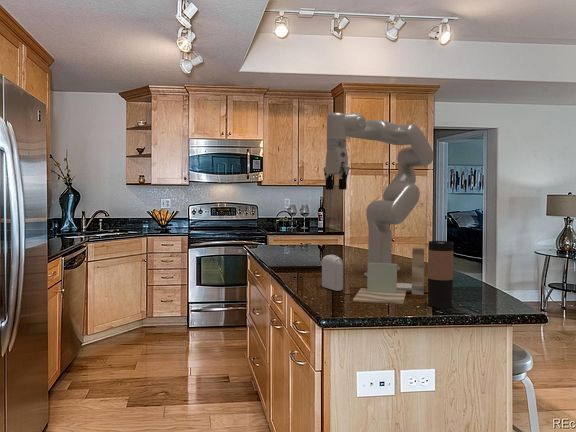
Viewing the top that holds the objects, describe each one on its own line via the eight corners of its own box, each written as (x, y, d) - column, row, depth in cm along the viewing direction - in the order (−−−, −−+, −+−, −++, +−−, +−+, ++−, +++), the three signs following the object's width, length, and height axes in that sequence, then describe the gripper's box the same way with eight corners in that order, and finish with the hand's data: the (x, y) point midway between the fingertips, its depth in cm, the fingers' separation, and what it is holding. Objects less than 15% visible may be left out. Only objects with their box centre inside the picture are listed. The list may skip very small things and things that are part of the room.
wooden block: (412, 292, 189) (412, 247, 188) (423, 292, 188) (424, 247, 187) (411, 294, 185) (412, 248, 185) (423, 295, 184) (424, 248, 184)
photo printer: (320, 286, 199) (320, 253, 199) (330, 285, 201) (330, 253, 200) (334, 291, 190) (334, 256, 189) (344, 290, 192) (345, 256, 191)
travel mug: (423, 303, 171) (424, 240, 170) (446, 302, 172) (448, 240, 171) (432, 308, 163) (433, 243, 162) (456, 308, 164) (457, 243, 163)
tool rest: (388, 284, 204) (388, 282, 204) (415, 285, 202) (415, 283, 202) (386, 289, 194) (386, 287, 194) (415, 290, 192) (415, 288, 192)
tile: (367, 290, 188) (368, 262, 188) (396, 292, 186) (397, 263, 185) (367, 291, 187) (367, 263, 186) (396, 293, 184) (396, 264, 183)
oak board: (360, 290, 193) (360, 288, 193) (406, 292, 189) (406, 290, 189) (352, 301, 174) (352, 299, 174) (403, 304, 170) (403, 302, 169)
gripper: (356, 144, 202) (356, 189, 202) (332, 147, 217) (332, 189, 218) (339, 143, 198) (339, 189, 199) (316, 146, 214) (316, 189, 215)
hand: (335, 189), depth 209 cm, fingers open, 9 cm apart
